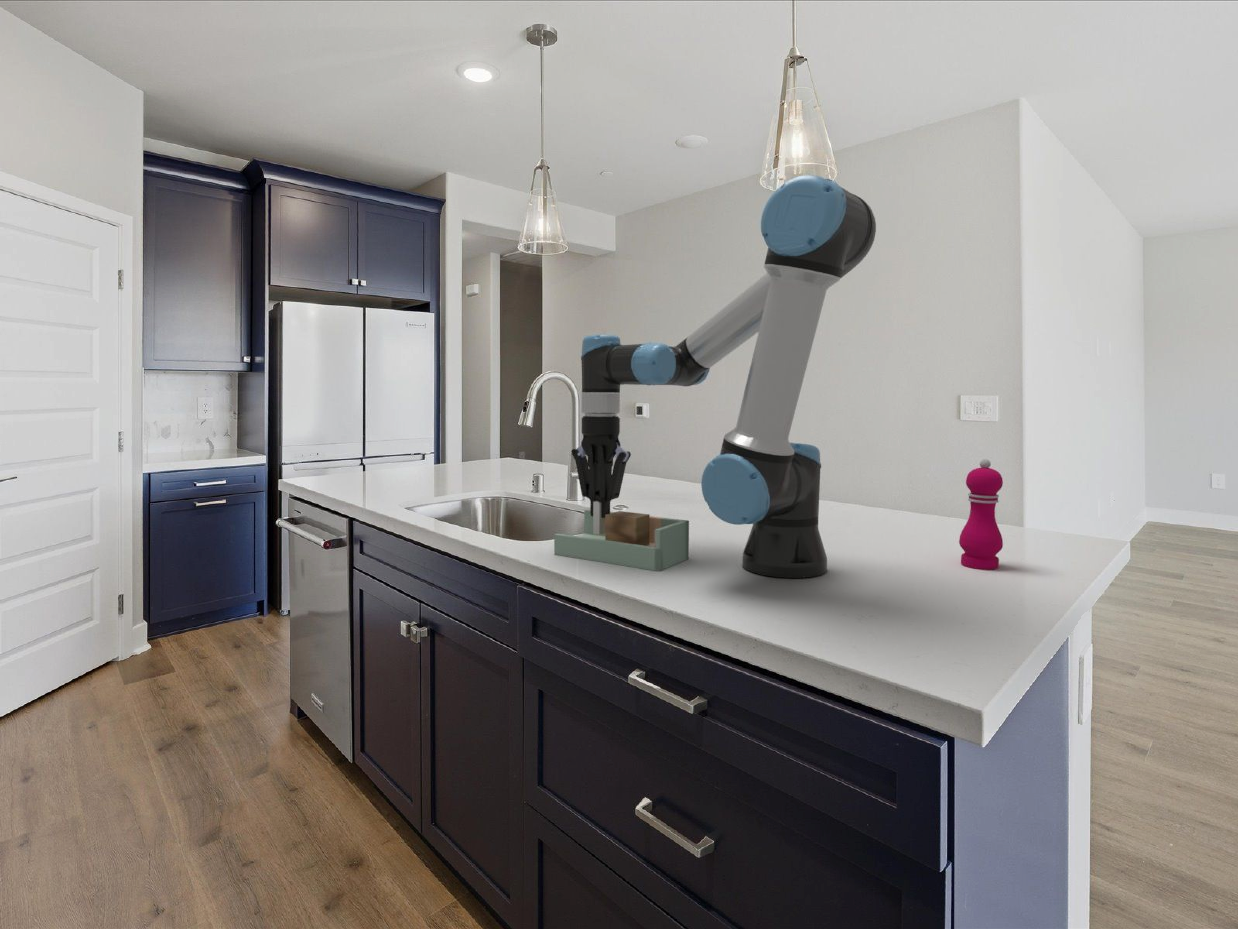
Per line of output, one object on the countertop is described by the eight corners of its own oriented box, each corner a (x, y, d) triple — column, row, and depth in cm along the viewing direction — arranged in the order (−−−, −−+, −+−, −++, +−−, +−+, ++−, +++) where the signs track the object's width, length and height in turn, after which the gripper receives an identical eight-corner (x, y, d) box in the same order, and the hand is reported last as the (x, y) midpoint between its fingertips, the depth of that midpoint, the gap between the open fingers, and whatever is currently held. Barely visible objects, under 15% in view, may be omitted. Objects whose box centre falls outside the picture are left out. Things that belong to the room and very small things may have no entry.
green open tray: (688, 558, 132) (688, 520, 132) (659, 571, 123) (659, 530, 122) (587, 543, 145) (587, 509, 145) (554, 554, 136) (554, 517, 135)
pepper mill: (1007, 571, 123) (1014, 461, 121) (964, 569, 125) (970, 460, 123) (993, 561, 130) (1000, 457, 128) (953, 560, 132) (958, 457, 130)
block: (649, 544, 133) (649, 514, 133) (635, 549, 129) (636, 518, 128) (619, 540, 137) (619, 511, 136) (605, 545, 133) (605, 514, 132)
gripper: (638, 415, 134) (637, 533, 136) (585, 413, 141) (584, 526, 143) (618, 416, 127) (617, 540, 130) (562, 414, 134) (562, 532, 137)
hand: (600, 533), depth 136 cm, fingers closed
